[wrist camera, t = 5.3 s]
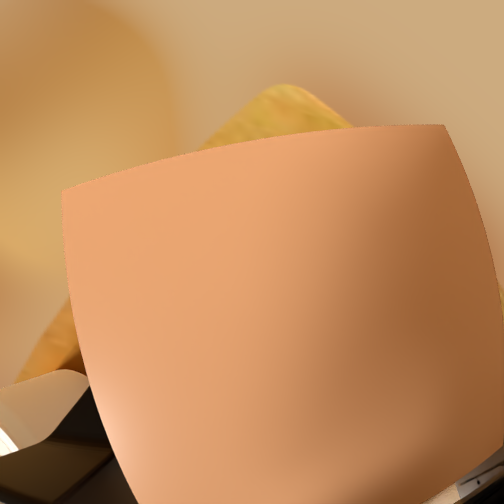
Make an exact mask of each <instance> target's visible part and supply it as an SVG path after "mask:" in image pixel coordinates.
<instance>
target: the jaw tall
mask: <svg viewBox="0 0 504 504" xmlns="http://www.w3.org/2000/svg"><path fill="white" fill-rule="evenodd" d="M61 193H62V194H61V195H62V196H61V197H62V225H63V241H64V252H65V262H66V270H67V279H68V286H69V293H70V299H71V305H72V311H73V316H74V322H75V327H76V331H77V336H78V341H79V345H80V349H81V353H82V357H83V361H84V365H85V369H86V373H87V376H88V380H89V383H90V387H91V390H92V393H93V396H94V399H95V403H96V406H97V409H98V412H99V414H100V417H101V420H102V423H103V426H104V428H105V431H106V434H107V436H108V439H109V441H110V444H111V446H112V449H113V451H114V453H115V456H116V458H117V460H118V463H119V465H120V467H121V469H122V471H123V474H124V476H125V478H126V480H127V482H128V484H129V486H130V488H131V490H132V492H133V494H134V496H135V498H136V500H137V502H138V503H139V504H421V503H423V502H424V501H426V500H428V499H430V498H431V497H433V496H435V495H436V494H438V493H439V492H441V491H443V490H444V489H446V488H447V487H449V486H450V485H452V484H453V483H455V482H456V481H458V480H459V479H461V478H462V477H464V476H465V475H466V474H468V473H469V472H470V471H472V470H473V469H474V468H476V467H477V466H478V465H480V464H481V463H482V462H484V461H485V460H486V459H487V458H489V457H490V456H491V455H492V454H493V453H495V452H496V451H497V450H498V449H499V448H500V447H502V446H503V440H504V324H503V315H502V308H501V301H500V295H499V289H498V283H497V278H496V273H495V268H494V264H493V259H492V255H491V251H490V247H489V243H488V239H487V235H486V232H485V228H484V225H483V221H482V218H481V215H480V212H479V209H478V206H477V203H476V200H475V197H474V194H473V191H472V188H471V186H470V183H469V180H468V178H467V175H466V173H465V170H464V168H463V165H462V163H461V161H460V158H459V156H458V154H457V152H456V149H455V147H454V145H453V143H452V140H451V138H450V137H449V134H448V132H447V130H446V128H445V126H444V125H391V126H373V127H357V128H345V129H334V130H324V131H315V132H307V133H299V134H291V135H284V136H277V137H271V138H264V139H258V140H252V141H247V142H241V143H236V144H230V145H225V146H220V147H215V148H210V149H206V150H201V151H197V152H192V153H188V154H184V155H179V156H176V157H171V158H167V159H163V160H159V161H156V162H152V163H148V164H144V165H141V166H137V167H134V168H130V169H127V170H124V171H120V172H117V173H113V174H110V175H107V176H104V177H100V178H97V179H94V180H91V181H89V182H85V183H82V184H80V185H77V186H74V187H71V188H68V189H66V190H63V191H61Z"/></svg>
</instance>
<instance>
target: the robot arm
mask: <svg viewBox="0 0 504 504" xmlns="http://www.w3.org/2000/svg"><path fill="white" fill-rule="evenodd" d="M455 485H456V487H457V490H458V493H459V496H460V498H461V499H460V500H458V501H457V502H455V503H454V504H504V440H503V446H502V447H500V448H499V449H498V450H497V451H496V452H495V453H493V454H492V455H491V456H490V457H489V458H487V459H486V460H485V461H484V462H482V463H481V464H480V465H478V466H477V467H476V468H474V469H473V470H472V471H470V472H469V473H468V474H466V475H465V476H464V477H462V478H461V479H459V480H458V481H456V482H455ZM0 504H139V503H138V502H137V500H136V498H135V496H134V494H133V492H132V490H131V488H130V486H129V484H128V482H127V480H126V478H125V476H124V474H123V471H122V469H121V467H120V465H119V463H118V460H117V458H116V456H115V453H114V451H113V449H112V446H111V444H110V441H109V439H108V436H107V434H106V431H105V428H104V426H103V423H102V420H101V417H100V414H99V412H98V409H97V406H96V403H95V399H94V396H93V393H92V390H91V387H90V385H89V387H88V388H87V389H86V391H85V392H84V393H83V394H82V396H81V397H80V398H79V400H78V401H77V402H76V403H75V405H74V406H73V407H72V408H71V410H70V411H69V412H68V413H67V415H66V416H65V417H64V418H63V420H62V421H61V422H60V423H59V425H58V426H57V427H56V429H55V430H54V431H53V432H52V433H51V434H50V435H49V436H48V437H47V438H45V439H44V440H43V441H41V442H39V443H37V444H34V445H32V446H29V447H26V448H23V449H21V450H18V451H15V452H12V453H9V454H6V455H3V456H0Z"/></svg>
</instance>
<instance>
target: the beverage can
mask: <svg viewBox="0 0 504 504" xmlns="http://www.w3.org/2000/svg"><path fill="white" fill-rule="evenodd" d="M89 385H90V383H89V380H88V377H87V376H85V375H83V374H81V373H79V372H76V371H73V370H68V369H61V370H56V371H53V372H50V373H47V374H44V375H41V376H38V377H35V378H32V379H29V380H26V381H23V382H20V383H17V384H14V385H11V386H7V387H4V388H1V389H0V456H3V455H6V454H9V453H12V452H15V451H18V450H21V449H23V448H26V447H29V446H32V445H34V444H37V443H39V442H41V441H43V440H44V439H45V438H47V437H48V436H49V435H50V434H51V433H52V432H53V431H54V430H55V429H56V427H57V426H58V425H59V423H60V422H61V421H62V420H63V418H64V417H65V416H66V415H67V413H68V412H69V411H70V410H71V408H72V407H73V406H74V405H75V403H76V402H77V401H78V400H79V398H80V397H81V396H82V394H83V393H84V392H85V391H86V389H87V388H88V387H89Z"/></svg>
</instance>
